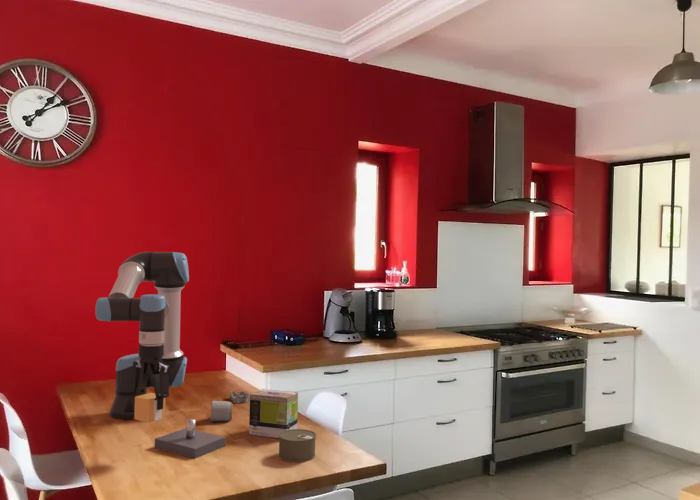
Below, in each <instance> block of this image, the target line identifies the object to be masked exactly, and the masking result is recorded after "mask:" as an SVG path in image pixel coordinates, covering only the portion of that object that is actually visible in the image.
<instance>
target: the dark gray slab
mask: <svg viewBox="0 0 700 500" xmlns="http://www.w3.org/2000/svg"><path fill="white" fill-rule="evenodd" d="M226 439H227V438H226V437H225V436H223V435H218V434H213V433H209V432H207V431H206V432H205V431H201V430H197V429H195V438H194V439H186V427H184V428H182V429H180V430H177V431H173V432H170V433H168V434H164V435H162V436H159V437H156V438H154V448H155V449H158V450H161V451H165V452H169V453H173V454H177V455H181V456H184V457H187V458H192V459H197V458H200V457H202V456H204V455H207V454H209V453H211V452H214V451H216V450H220V449H222V448H224V447H226Z"/></svg>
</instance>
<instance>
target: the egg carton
mask: <svg viewBox="0 0 700 500" xmlns="http://www.w3.org/2000/svg"><path fill="white" fill-rule="evenodd" d="M229 392H230V394H229V399H230V400H231V402H233V403H234V404H241V403H244V404H247V403H250V393H249V392H248V391H247V390H245V391H237V392H236V393H235V390H231V389H229Z"/></svg>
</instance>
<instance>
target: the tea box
mask: <svg viewBox="0 0 700 500" xmlns="http://www.w3.org/2000/svg"><path fill="white" fill-rule="evenodd" d="M298 405H299V392H298V391H286V390H279V389H278V390H276V389H267V388H266V389H265V388H261V389H259V390H257V391H255V392H252V393H249V415H248V416H249V419H248V421H249V423H248V424H249V426H248V430H249V431H248V434H249V435H253V436H260V437H269V438H276V439H279V434H280V433H281V432H283V431H286V430H292V429H298V417H299V415H298V413H299V411H298V409H299V407H298Z"/></svg>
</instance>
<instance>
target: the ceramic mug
mask: <svg viewBox="0 0 700 500" xmlns="http://www.w3.org/2000/svg"><path fill="white" fill-rule="evenodd" d="M210 410H211V411H210V422H228V421H231V420H233V419H232V418H233V401H224V400H222V401H221V400H212V401H211V406H210Z"/></svg>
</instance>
